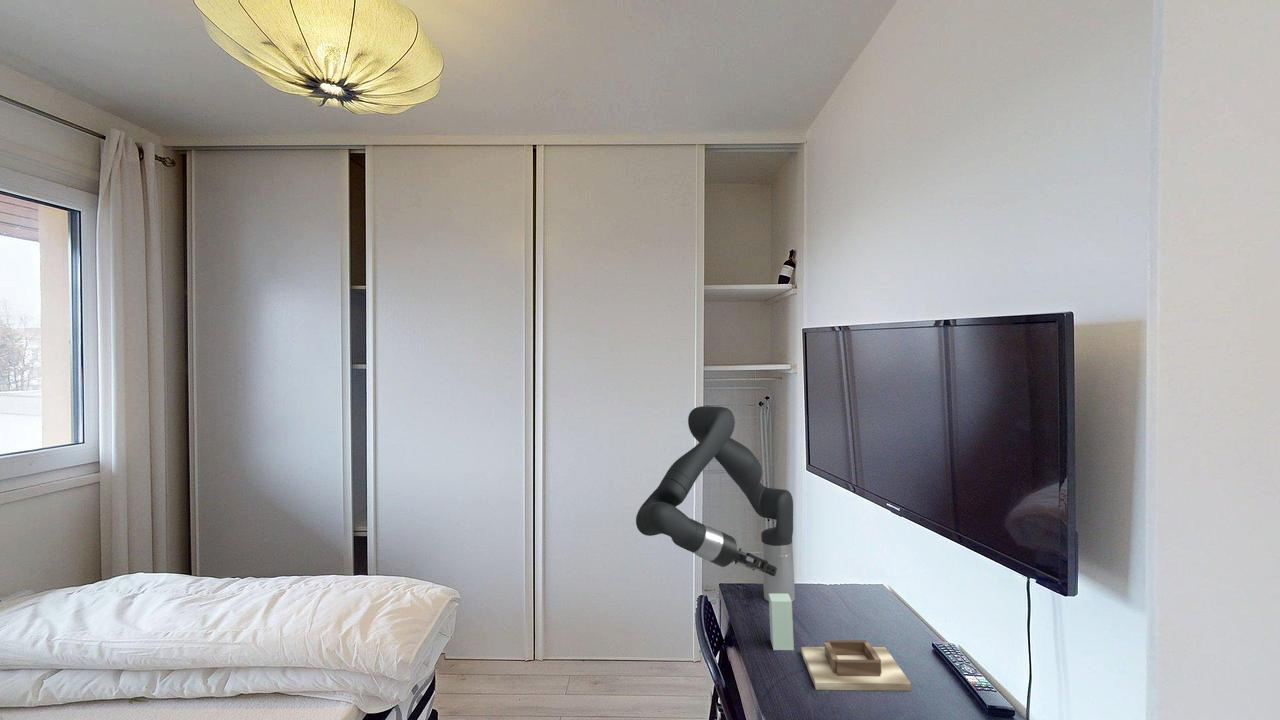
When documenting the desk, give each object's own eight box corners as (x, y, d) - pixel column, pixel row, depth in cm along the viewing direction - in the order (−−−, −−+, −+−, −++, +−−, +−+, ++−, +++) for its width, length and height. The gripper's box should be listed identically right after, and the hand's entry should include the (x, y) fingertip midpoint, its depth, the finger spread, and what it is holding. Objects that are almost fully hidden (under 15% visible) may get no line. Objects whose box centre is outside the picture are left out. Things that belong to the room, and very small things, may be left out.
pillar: (770, 640, 145) (768, 593, 145) (790, 640, 145) (788, 593, 145) (773, 650, 140) (771, 601, 140) (793, 650, 140) (791, 601, 140)
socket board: (801, 653, 138) (800, 634, 138) (885, 653, 136) (884, 634, 136) (815, 689, 122) (814, 668, 122) (911, 690, 120) (910, 669, 121)
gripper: (733, 533, 130) (787, 558, 135) (703, 526, 143) (753, 550, 148) (722, 565, 128) (778, 590, 132) (693, 555, 141) (744, 578, 145)
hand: (764, 569), depth 140 cm, fingers open, 8 cm apart
